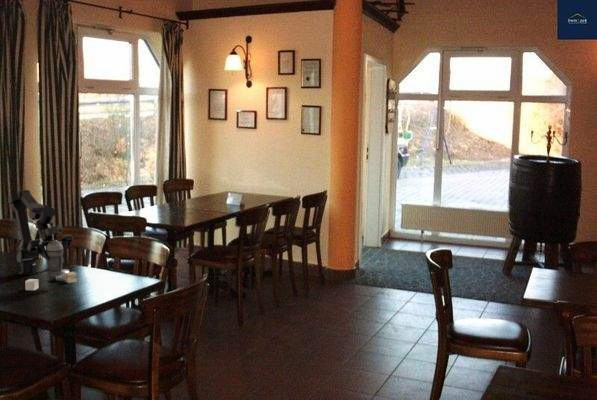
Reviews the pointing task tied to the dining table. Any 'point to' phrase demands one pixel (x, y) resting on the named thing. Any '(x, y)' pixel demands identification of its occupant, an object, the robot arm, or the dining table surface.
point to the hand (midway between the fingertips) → (56, 259)
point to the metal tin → (62, 277)
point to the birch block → (70, 277)
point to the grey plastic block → (31, 284)
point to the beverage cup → (55, 257)
